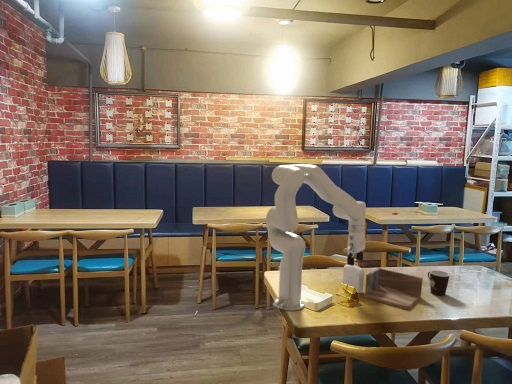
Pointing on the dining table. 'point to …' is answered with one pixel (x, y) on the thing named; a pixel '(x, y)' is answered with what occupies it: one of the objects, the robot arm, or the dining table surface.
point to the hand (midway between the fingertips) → (355, 262)
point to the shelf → (393, 288)
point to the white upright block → (353, 277)
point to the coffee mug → (438, 282)
